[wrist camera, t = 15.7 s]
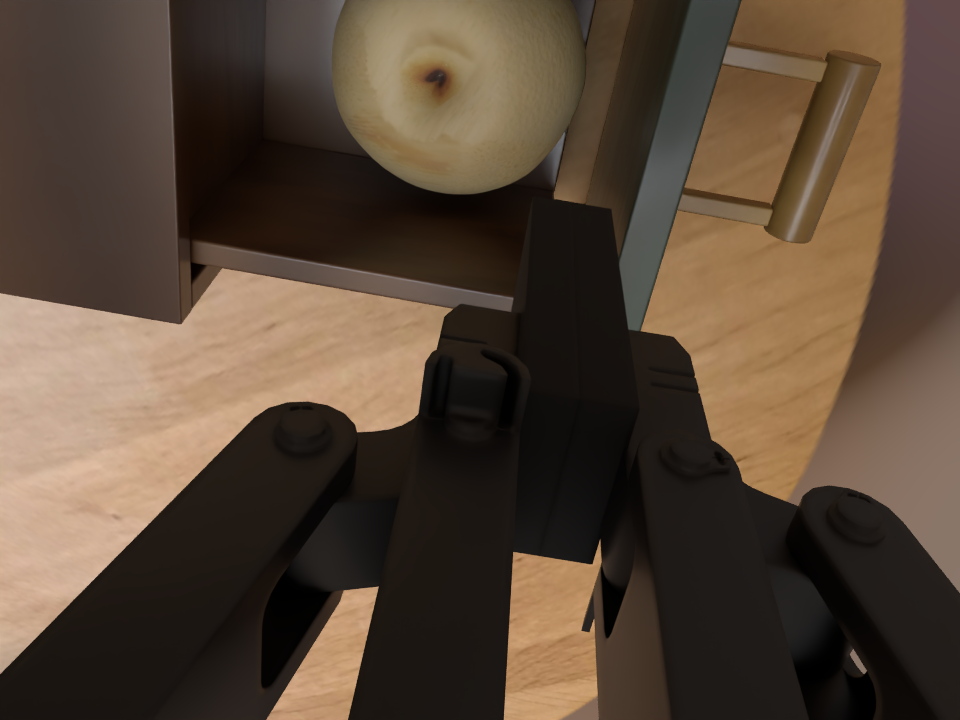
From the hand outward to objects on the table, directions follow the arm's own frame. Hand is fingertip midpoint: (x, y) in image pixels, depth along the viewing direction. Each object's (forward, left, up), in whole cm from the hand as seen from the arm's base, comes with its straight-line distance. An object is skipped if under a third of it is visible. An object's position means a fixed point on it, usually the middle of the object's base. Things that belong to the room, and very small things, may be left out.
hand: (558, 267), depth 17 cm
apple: (+3, 0, -16) cm, 16 cm away
